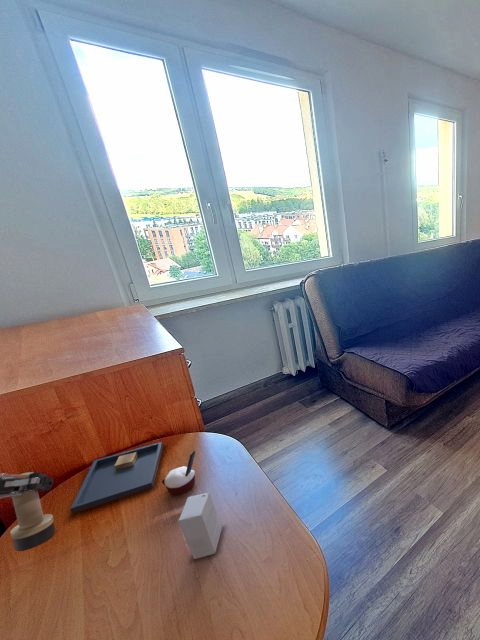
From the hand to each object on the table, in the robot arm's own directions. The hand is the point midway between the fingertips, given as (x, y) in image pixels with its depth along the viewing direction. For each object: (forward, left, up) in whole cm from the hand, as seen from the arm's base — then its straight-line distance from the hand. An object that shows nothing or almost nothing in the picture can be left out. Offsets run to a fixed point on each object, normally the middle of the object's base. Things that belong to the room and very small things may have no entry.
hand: (37, 486), depth 64 cm
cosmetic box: (+24, -11, -21) cm, 34 cm away
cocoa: (+18, +9, -21) cm, 29 cm away
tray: (+3, +22, -20) cm, 30 cm away
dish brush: (-1, -5, -8) cm, 10 cm away
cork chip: (+3, +28, -20) cm, 34 cm away
